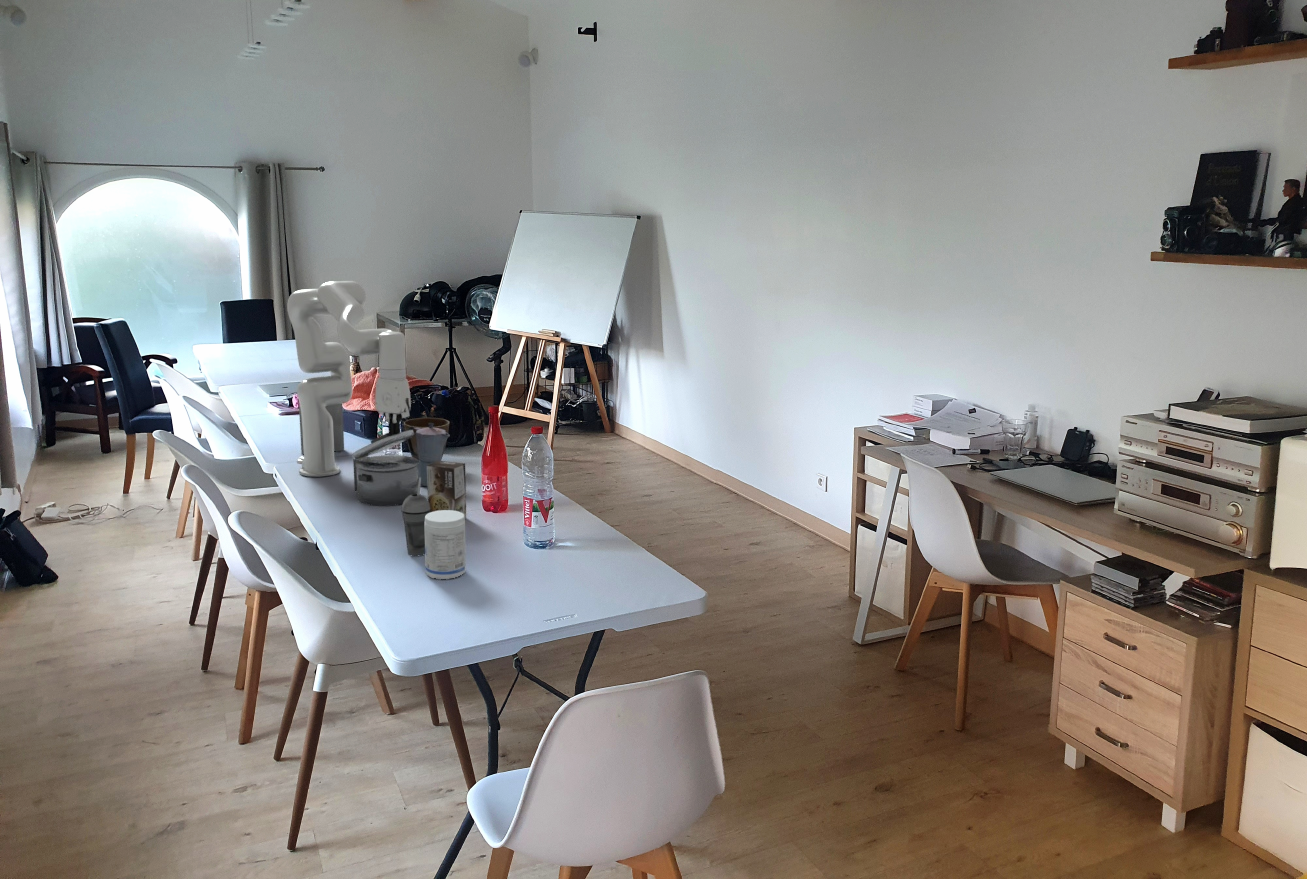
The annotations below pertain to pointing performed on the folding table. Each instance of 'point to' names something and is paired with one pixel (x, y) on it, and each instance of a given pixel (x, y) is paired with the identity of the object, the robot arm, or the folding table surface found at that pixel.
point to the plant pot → (425, 424)
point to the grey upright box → (338, 432)
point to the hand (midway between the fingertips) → (394, 434)
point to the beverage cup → (415, 521)
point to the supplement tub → (444, 544)
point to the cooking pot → (385, 479)
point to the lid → (383, 443)
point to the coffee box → (446, 486)
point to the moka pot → (428, 448)
